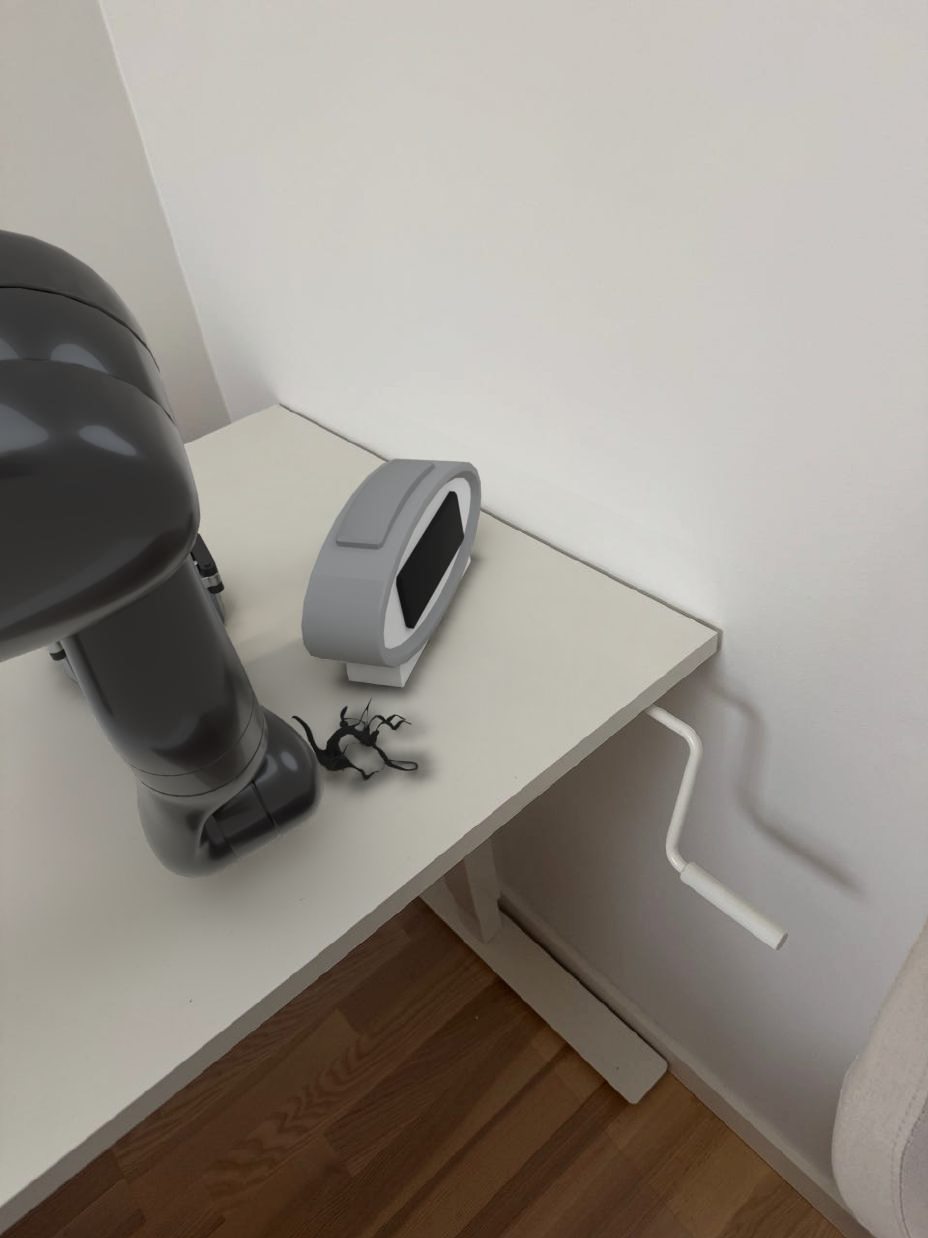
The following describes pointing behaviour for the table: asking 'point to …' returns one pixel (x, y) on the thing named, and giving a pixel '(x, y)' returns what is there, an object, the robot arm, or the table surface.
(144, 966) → the table surface
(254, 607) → the table surface
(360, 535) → the alarm clock
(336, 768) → the creature
